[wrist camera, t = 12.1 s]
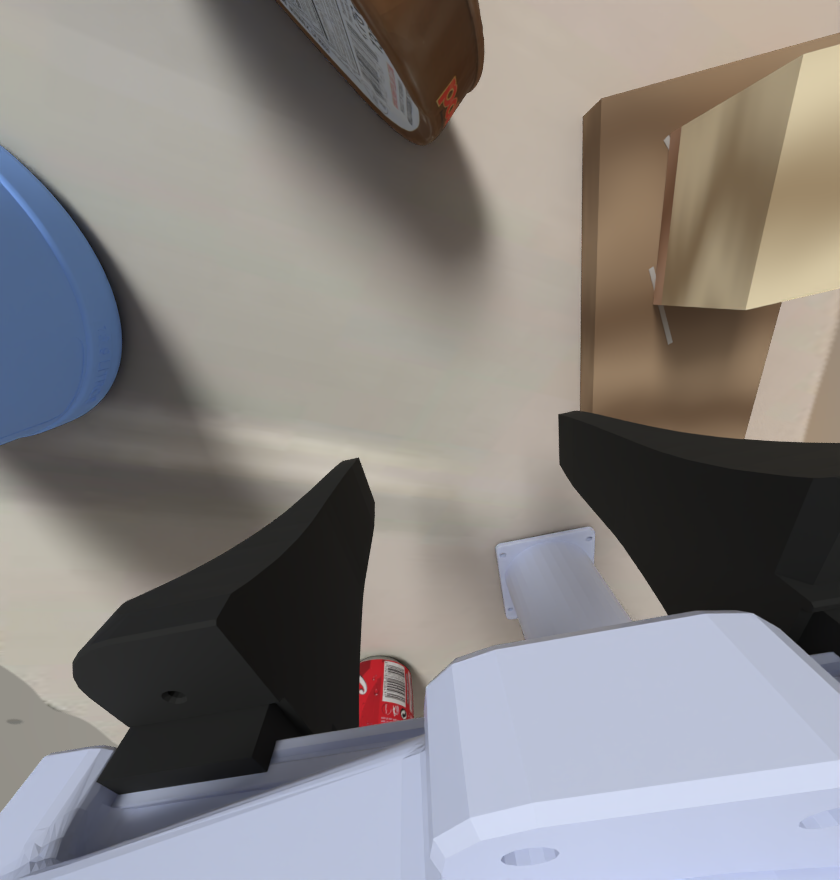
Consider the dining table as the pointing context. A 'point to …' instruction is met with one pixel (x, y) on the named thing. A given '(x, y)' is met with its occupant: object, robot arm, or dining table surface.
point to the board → (635, 263)
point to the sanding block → (756, 194)
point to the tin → (400, 55)
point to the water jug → (49, 311)
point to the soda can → (384, 691)
